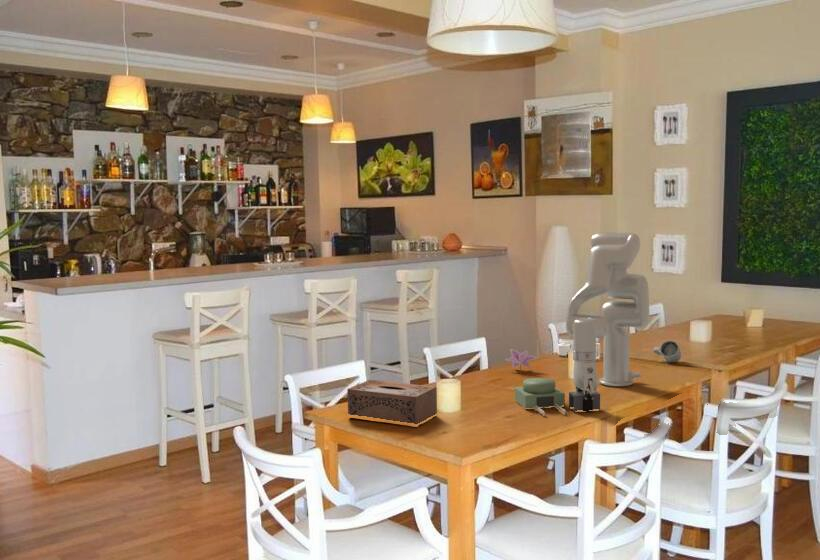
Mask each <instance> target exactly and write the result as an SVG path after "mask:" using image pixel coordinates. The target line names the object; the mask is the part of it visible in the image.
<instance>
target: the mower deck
mask: <svg viewBox="0 0 820 560" xmlns="http://www.w3.org/2000/svg"><path fill="white" fill-rule="evenodd" d="M565 394H566V393H565V392H564V391H562V390H560V389H559V388H558V387H556V381H555V380H554V379H552V378H551V379H550V378H543V377H531V378H526V379H524V380H523V382H522V386H516V387H514V401H515V400H516V401H517V402H518V403H519V404H521V405H522V406H523V407H524V408H533V407H534V408H535V409H536V410H538V411H539V412H540V413H542V414H545V415H546V411H544V409H540V408H539V407H549V406H555V407H556V408H558V409H559V410H561V411H562V412H564V413H566V414H567V410H566V409H565V408H562V407H560V406H562V405H565V402H566V399H565V398H566V396H565ZM518 403H517V404H518ZM519 404H518V405H519ZM565 406H566V405H565Z"/></svg>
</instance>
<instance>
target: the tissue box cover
mask: <svg viewBox="0 0 820 560" xmlns="http://www.w3.org/2000/svg"><path fill="white" fill-rule="evenodd" d="M346 391H347V413H348V414H350V415H358V416H367V417H373V418H380V419H386V420H393V421H400V422H407V423H414V424H418V423H420V422H422V421H424V420H426V419H427V418H429V417H431V416H433V415H435V414H437V415H438V410H437V408H438V407H437V404H438V403H437V402H438V401H437V398H438V397H437V386H434V385H433V386H431V385H424V384H423V385H421V384H415V383H414V384H413V383H404V382H397V381H396V382H395V381H387V380H375V379H368V380H366V381H363V382H361V383H359V384H357V385H354V386H351V387H349V388H347V390H346ZM348 414H347V415H348Z"/></svg>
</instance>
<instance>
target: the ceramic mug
mask: <svg viewBox="0 0 820 560" xmlns="http://www.w3.org/2000/svg"><path fill="white" fill-rule="evenodd" d="M653 353H654V354H655V355H658V356H662V357H663V358H664V359H665V360H666V361H667V362H668V363H673V364H675V363H677V362H679V361H680V360H681V358H682V351H681V349H680V346H679V344H678V343H677V342H676V341H674V340H666V341H664V342H662V343H661V345H660V346H654V348H653Z"/></svg>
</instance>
